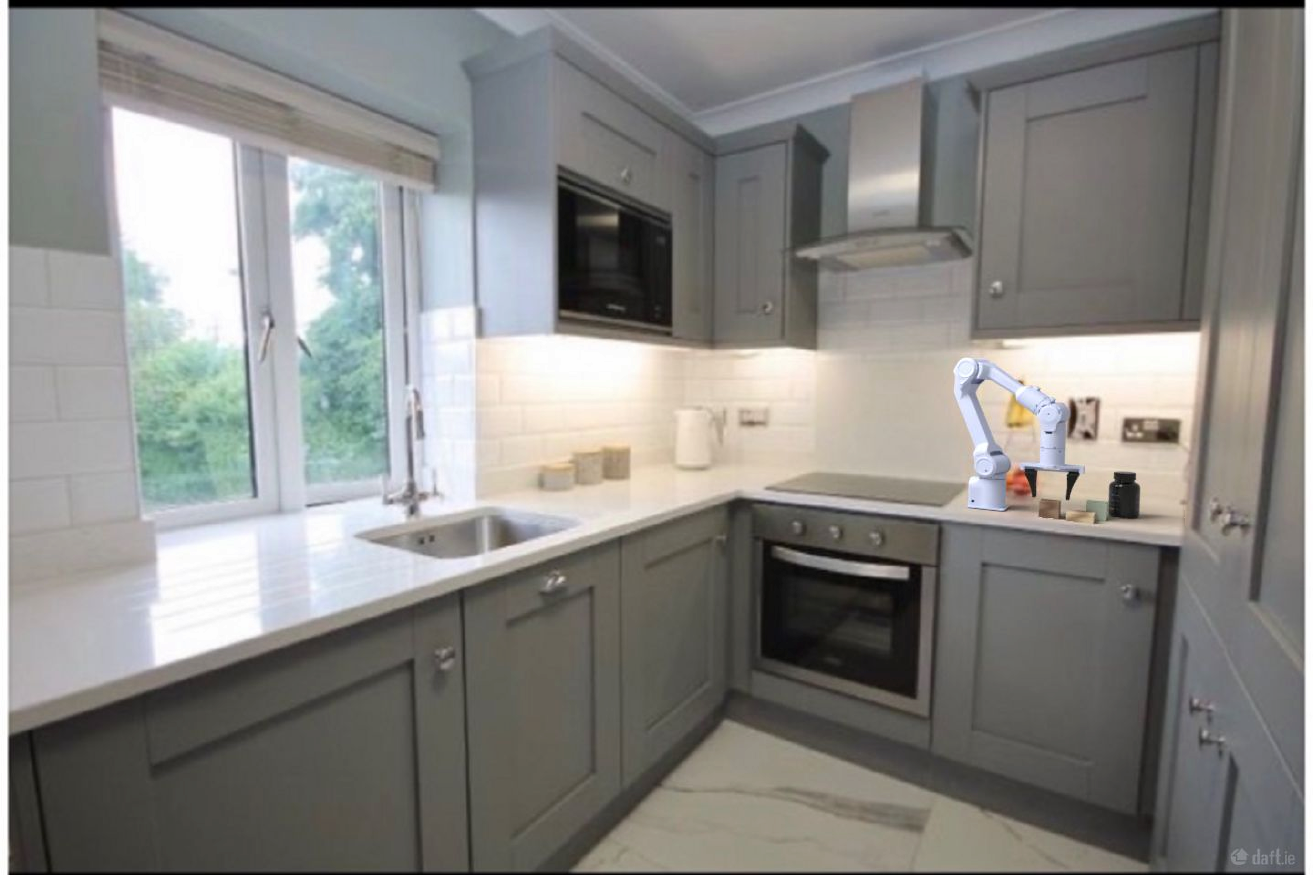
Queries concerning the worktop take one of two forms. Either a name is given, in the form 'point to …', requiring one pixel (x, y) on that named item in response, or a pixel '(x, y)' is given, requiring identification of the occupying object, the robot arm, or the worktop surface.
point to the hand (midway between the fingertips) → (1050, 498)
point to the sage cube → (1098, 508)
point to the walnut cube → (1049, 508)
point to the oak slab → (1081, 516)
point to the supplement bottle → (1124, 496)
